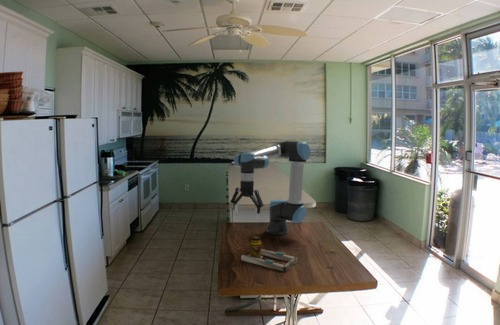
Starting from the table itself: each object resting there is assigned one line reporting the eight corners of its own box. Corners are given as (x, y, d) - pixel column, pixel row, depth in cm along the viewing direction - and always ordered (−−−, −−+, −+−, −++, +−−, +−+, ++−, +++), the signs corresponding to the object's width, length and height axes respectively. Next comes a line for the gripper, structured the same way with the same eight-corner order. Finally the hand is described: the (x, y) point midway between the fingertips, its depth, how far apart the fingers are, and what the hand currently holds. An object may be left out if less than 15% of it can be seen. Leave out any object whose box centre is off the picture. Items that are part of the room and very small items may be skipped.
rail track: (254, 251, 189) (255, 246, 189) (297, 261, 176) (297, 256, 175) (241, 260, 176) (241, 254, 176) (285, 272, 163) (285, 265, 162)
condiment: (257, 261, 176) (258, 240, 174) (244, 257, 180) (244, 237, 179) (263, 256, 182) (264, 236, 181) (250, 253, 186) (251, 233, 185)
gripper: (224, 179, 181) (224, 215, 184) (263, 183, 169) (263, 222, 172) (231, 177, 188) (231, 212, 190) (270, 181, 176) (269, 218, 178)
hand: (246, 217), depth 181 cm, fingers open, 13 cm apart
